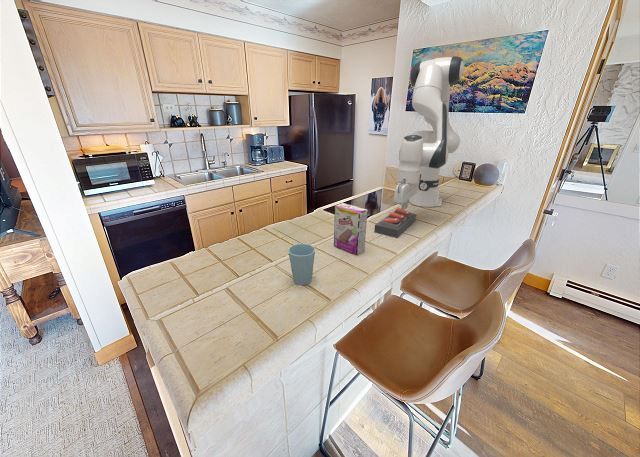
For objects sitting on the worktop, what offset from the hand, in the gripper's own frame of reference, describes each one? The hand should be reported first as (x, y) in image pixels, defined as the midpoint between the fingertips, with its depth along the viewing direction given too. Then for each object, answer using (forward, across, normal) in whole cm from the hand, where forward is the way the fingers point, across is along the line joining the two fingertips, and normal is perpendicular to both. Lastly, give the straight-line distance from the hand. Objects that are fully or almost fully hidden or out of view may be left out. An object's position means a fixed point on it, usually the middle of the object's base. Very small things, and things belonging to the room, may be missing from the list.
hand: (404, 208), depth 115 cm
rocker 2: (+4, -1, +3) cm, 5 cm away
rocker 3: (+4, +6, +3) cm, 8 cm away
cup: (+8, -59, +10) cm, 60 cm away
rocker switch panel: (+9, +1, +3) cm, 9 cm away
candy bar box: (+8, -33, +9) cm, 35 cm away
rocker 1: (+4, -8, +3) cm, 9 cm away
